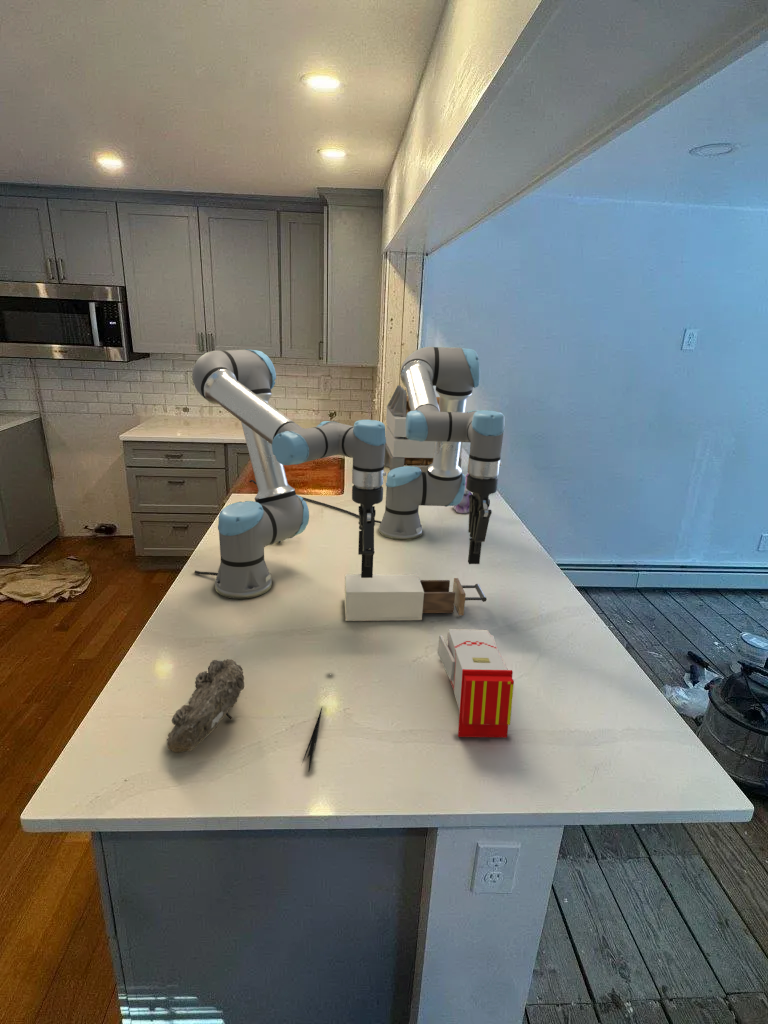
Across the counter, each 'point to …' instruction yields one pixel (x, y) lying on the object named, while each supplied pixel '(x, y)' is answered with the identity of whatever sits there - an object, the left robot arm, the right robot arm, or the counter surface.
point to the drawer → (446, 596)
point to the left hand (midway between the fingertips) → (365, 565)
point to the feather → (313, 740)
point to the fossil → (206, 705)
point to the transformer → (397, 443)
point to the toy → (478, 682)
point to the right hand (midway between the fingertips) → (473, 562)
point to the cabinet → (383, 597)
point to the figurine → (464, 501)
